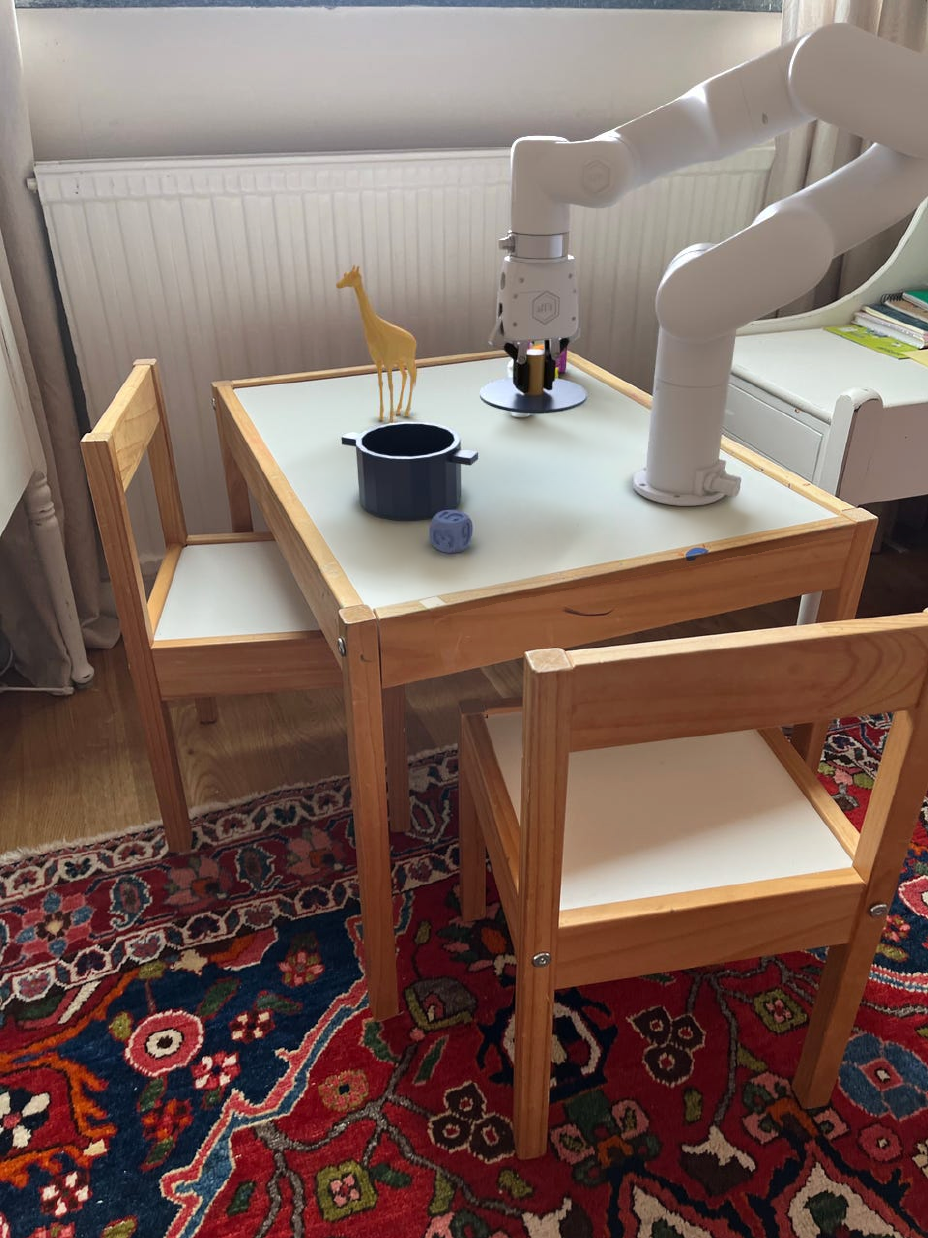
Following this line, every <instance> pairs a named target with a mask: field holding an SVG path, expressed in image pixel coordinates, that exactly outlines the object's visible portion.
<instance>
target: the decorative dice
mask: <svg viewBox="0 0 928 1238" xmlns="http://www.w3.org/2000/svg"><path fill="white" fill-rule="evenodd" d="M431 519H432V520H431V521H430V525H429V531H428V536H429V541H430V542H431V545H432V546H433V547H435V549H436V550H437V551H439V552H441V553H445V554H457V553H460V552H463V551H465V550H466V549H467V548H468V547H469V545H470V543H471V540H472V536H473V531H474V530H473V529H474V527H473V526H474V525H473V521H472V520H471V518H470V516H469V515H467V513H465V512H464V511H462V510H458V509H454V510H444V511H441V512H438V513H437V514H436V515H435V516H434V517H433V518H431Z"/></svg>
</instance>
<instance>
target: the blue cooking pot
mask: <svg viewBox="0 0 928 1238" xmlns="http://www.w3.org/2000/svg"><path fill="white" fill-rule="evenodd" d="M340 439H341V444H342V445H344V446H350V447H355V453H356V454H355V456H356V467H357V468H356V469H357V483H358V495H359V496H358V497H359V504H360V506H361V508H362V509H363V510H364V511H365V512H367V513H368V514H370V515H372V516H374V517H376V518H377V517H378V518H381V519H385V520H390V521H391V520H392V521H401V522H407V521H408V522H410V521H411V522H413V521H423V520H429V519H433V517H434V516H435V515H436V514H437V513H438V512H441V511H444V510H456V508H457V507H458V506H459V505H460V503H461V500H462V465H464V466H472V465H473V464H474V463H476V462H477V461H478V460H479V452H478V451H474V450H467V449H462V439H461V436H460V434H459V433H458V432H456V431H455V430H454V429H453V428H451V427H448V426H445V425H442V424H439V423H432V422H425V421H401V422H400V421H399V422H393V423H389V424H388V423H385V424H381V425H377V426H373V427H371V428H368V429H366V430H364V431H362V432H355V431H349V432H348V433H346V434H345V435H342V436H341V438H340Z"/></svg>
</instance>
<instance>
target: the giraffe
mask: <svg viewBox="0 0 928 1238" xmlns="http://www.w3.org/2000/svg"><path fill="white" fill-rule="evenodd" d="M362 279H363V276H362V275H361V274H360V265H357V266H356V264H354V265H353V267H352V268H351V270H350V271H349V272H347V271H345V272H344V273H343V277H342V278H341V279H340V281H338V282H337V283H336V284H335V286H336V288H337V289H338V290H341V289H343V288H353V289H354V292H355V295H356V298H357V302H358V306H359V310H360V315H361V320H362V325H363V329H364V336H365V340H366V344H367V347H368V351H369V355H370V357H371V359H372V361H373V363H374V365H375V367H376V373H377V379H378V381H377V382H378V383H377V385H378V388H379V418H378V419H377V421H378V422H381V421H383V420H384V412H385V409H384V395H383V394H384V393H383V388H384V387H383V386H384V382H383V367H384V369H385V370H386V375H387V384H388V385H387V386H388V389H389V399H390V401H389V402H390V403H389V404H390V407H389V408H390V410H389V420H388V422H387V424H389V423H394V415H399V414H401V410H402V408H403V399H404V393H405V387H406V383H407V379H408V375H409V395H408V400H407V405H406V408H405V412H404V413H403V414H404V415H403V417H409V412H410V411H412V410H411V409H412V408H411V404H412V403H411V402H412V397H413V390H414V386H417V385H416V384H417V378H418V368H417V365H416V363H415V361H416V359H415V358H416V350H417V346H418V345H417V340H416V338H415V337H414V336H413V334H412V333H410V332H409V331H407V330H406V329H404V328H402V327H400V326H397V325H394V324H393V323H390V322H388V321H386V320H384V319H383V318H380V317H378V315H377V314H376V313H375V311H374V309H373V307H372V305H371V302H370V300H369V298H368V295H367V293H366V290H365V287H364V285H363V282H362V281H363V280H362ZM395 365H396V367H397V369H399V371H400V373H401V377H402V379H401V391H400V398H399V402H398V404H397V408H396V411H395V413H394V384H393V368H394V366H395ZM405 368H406V369H405ZM406 370H407V371H406Z"/></svg>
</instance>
